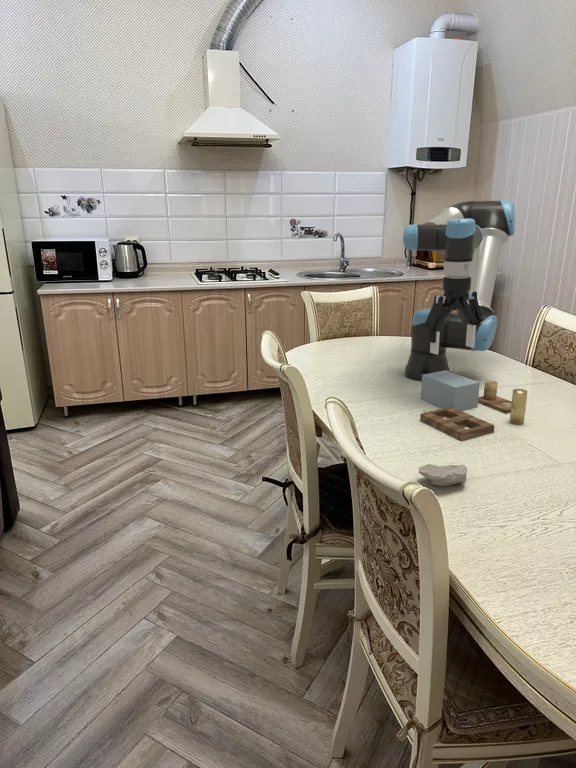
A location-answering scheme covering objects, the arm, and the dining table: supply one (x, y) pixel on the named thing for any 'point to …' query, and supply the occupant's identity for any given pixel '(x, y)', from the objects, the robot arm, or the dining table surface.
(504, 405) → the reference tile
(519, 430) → the dining table surface
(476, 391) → the housing
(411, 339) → the robot arm
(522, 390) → the peg
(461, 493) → the dining table surface
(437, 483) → the fossil
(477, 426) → the board
